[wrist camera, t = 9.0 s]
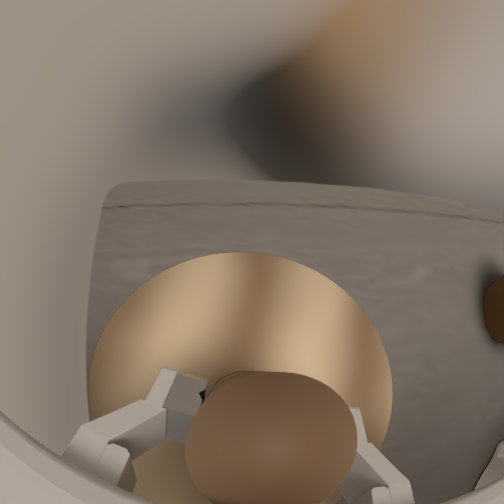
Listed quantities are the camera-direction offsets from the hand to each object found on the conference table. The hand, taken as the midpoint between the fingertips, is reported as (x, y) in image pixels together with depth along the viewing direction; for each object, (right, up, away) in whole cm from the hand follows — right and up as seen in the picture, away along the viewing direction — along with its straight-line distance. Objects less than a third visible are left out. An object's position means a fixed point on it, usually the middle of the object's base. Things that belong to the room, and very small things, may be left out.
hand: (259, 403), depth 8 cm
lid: (-1, -2, +4) cm, 4 cm away
